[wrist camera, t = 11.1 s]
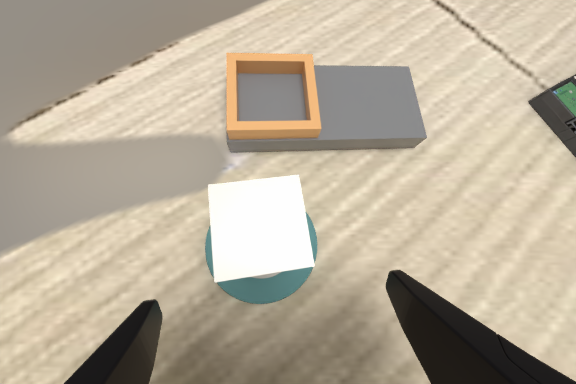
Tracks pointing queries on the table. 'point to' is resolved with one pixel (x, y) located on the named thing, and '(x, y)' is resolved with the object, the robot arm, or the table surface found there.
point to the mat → (265, 287)
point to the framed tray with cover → (318, 105)
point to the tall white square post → (258, 228)
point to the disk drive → (559, 110)
